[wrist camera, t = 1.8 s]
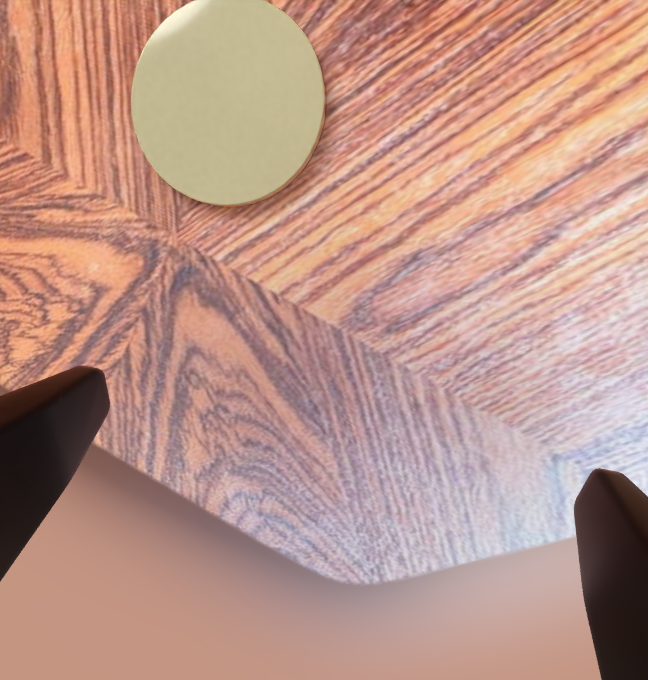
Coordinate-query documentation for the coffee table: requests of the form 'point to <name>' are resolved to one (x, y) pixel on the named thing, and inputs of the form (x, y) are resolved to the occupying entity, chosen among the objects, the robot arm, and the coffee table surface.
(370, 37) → the coffee table surface
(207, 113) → the coaster
